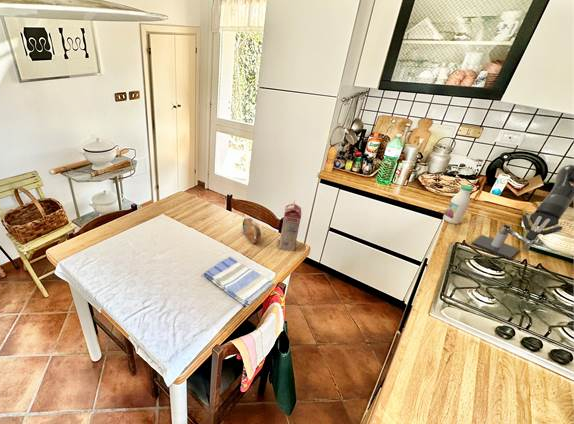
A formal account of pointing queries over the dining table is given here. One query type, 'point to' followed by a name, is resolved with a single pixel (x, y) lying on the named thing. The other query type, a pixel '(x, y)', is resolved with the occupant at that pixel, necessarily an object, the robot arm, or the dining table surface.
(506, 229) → the spout
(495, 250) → the faucet base
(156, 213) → the dining table surface
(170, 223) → the dining table surface
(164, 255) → the dining table surface
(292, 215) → the juice carton
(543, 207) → the robot arm
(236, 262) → the dish towel
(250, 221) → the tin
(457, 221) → the milk bottle
